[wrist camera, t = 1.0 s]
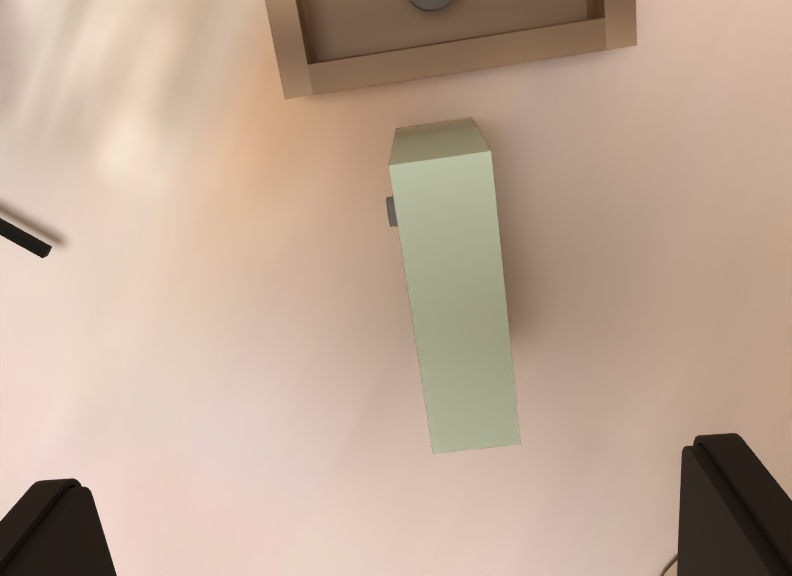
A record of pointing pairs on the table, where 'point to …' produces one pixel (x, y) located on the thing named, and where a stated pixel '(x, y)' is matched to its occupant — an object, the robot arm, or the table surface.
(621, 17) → the brown wooden shallow tray
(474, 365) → the light green rectangular block
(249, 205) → the table surface
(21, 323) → the table surface
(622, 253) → the table surface
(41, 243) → the toy
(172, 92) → the table surface
